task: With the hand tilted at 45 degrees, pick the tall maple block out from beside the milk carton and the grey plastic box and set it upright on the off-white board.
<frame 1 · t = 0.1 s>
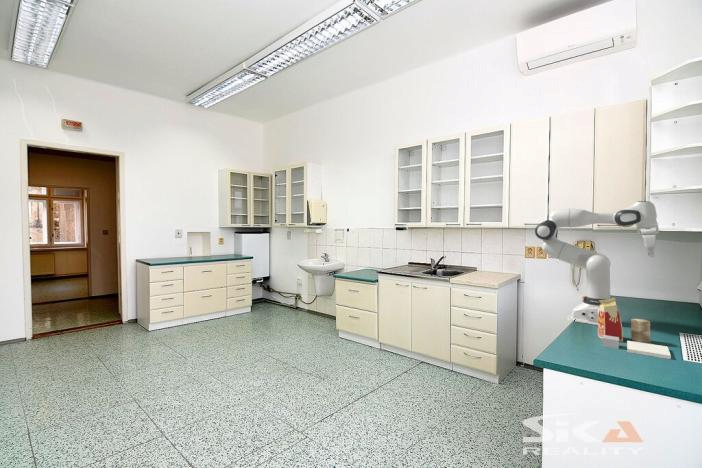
hand: (651, 256, 186), 39 cm above the countertop, tool pointing down, fingers open, 8 cm apart
off-white board: (647, 351, 153), on the countertop
maple block: (640, 341, 166), on the countertop
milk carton: (609, 338, 171), on the countertop
grey plastic box: (610, 346, 160), on the countertop
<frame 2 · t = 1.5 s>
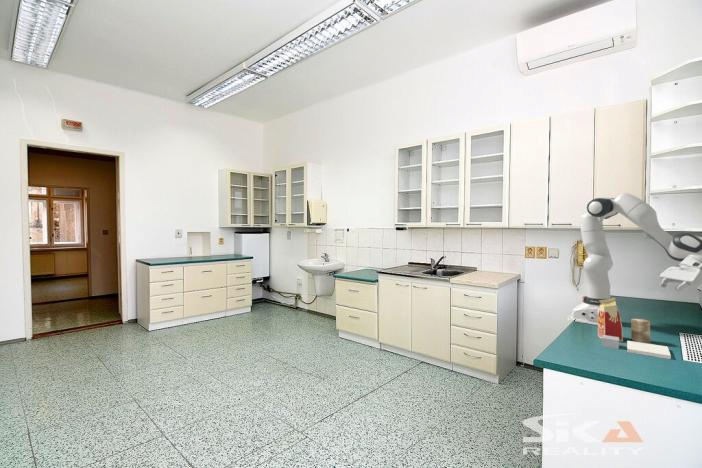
hand: (669, 288, 165), 25 cm above the countertop, tool tilted 45°, fingers open, 8 cm apart
nothing on the countertop moved.
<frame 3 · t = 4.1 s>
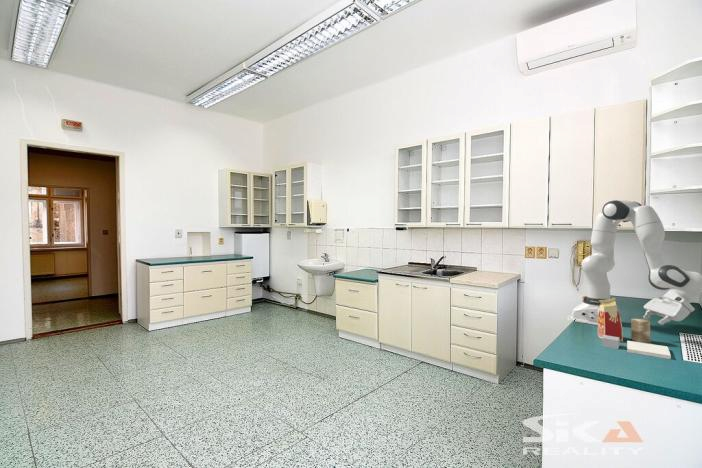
hand: (652, 321, 166), 10 cm above the countertop, tool tilted 45°, fingers open, 8 cm apart
nothing on the countertop moved.
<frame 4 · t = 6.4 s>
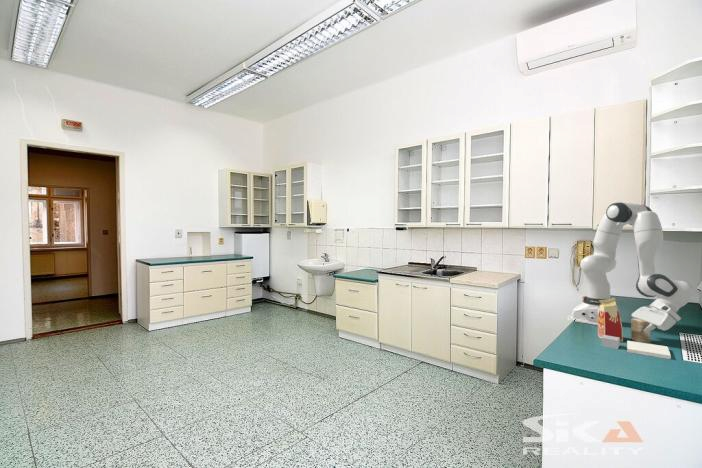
hand: (639, 329, 166), 5 cm above the countertop, tool tilted 45°, fingers closed on maple block, 5 cm apart
maple block: (640, 340, 166), on the countertop, touching gripper
everything else where it was.
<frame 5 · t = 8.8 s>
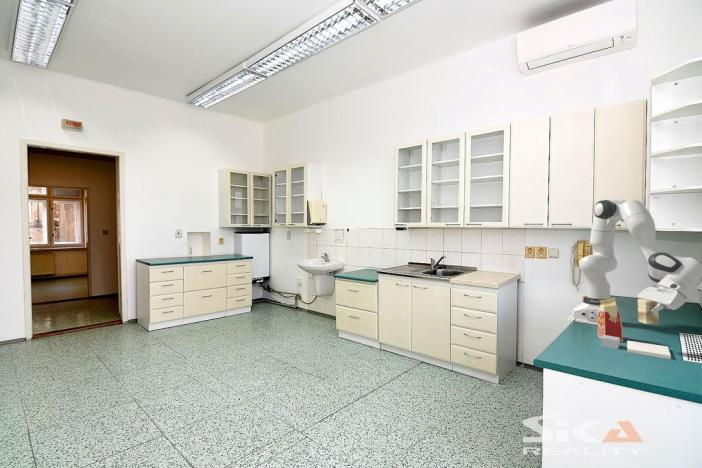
hand: (646, 310, 155), 17 cm above the countertop, tool tilted 45°, fingers closed on maple block, 5 cm apart
maple block: (648, 322, 155), point 12 cm above the countertop, touching gripper
everything else where it was.
when the fingers open (8 cm above the countertop, at t = 11.5 s): maple block drops 1 cm, resting on off-white board.
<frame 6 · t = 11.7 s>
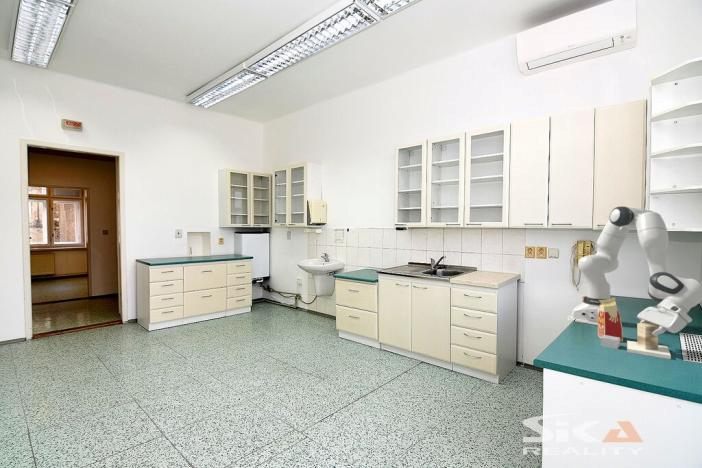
hand: (645, 331, 153), 8 cm above the countertop, tool tilted 45°, fingers open, 7 cm apart
maple block: (647, 347, 153), point 1 cm above the countertop, touching off-white board
everything else where it was.
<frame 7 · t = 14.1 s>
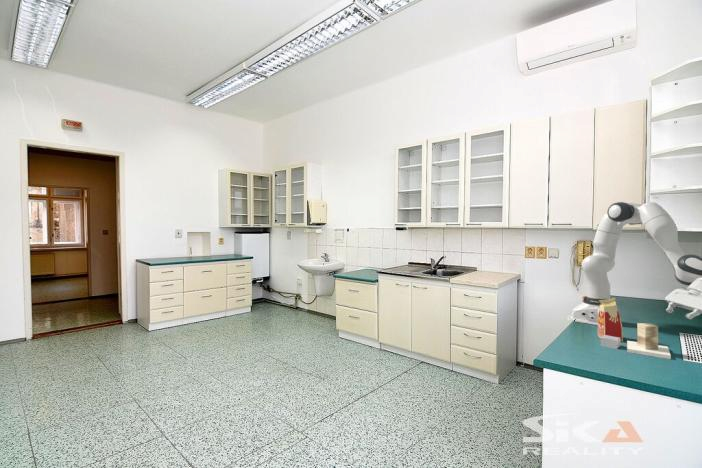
hand: (677, 314, 152), 16 cm above the countertop, tool tilted 45°, fingers open, 8 cm apart
nothing on the countertop moved.
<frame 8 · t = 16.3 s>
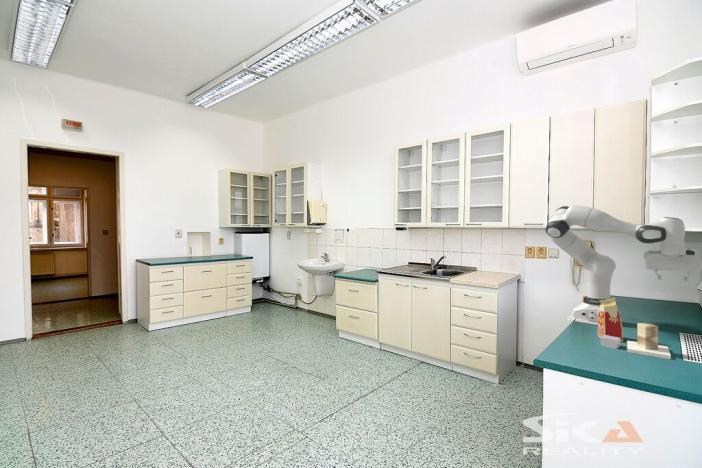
hand: (672, 279, 166), 29 cm above the countertop, tool pointing down, fingers open, 8 cm apart
nothing on the countertop moved.
at the end: maple block inside the target area on the off-white board (0.1 cm from its centre), point 1.5 cm above the off-white board's base; maple block tilted 0°; the gripper is holding nothing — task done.
